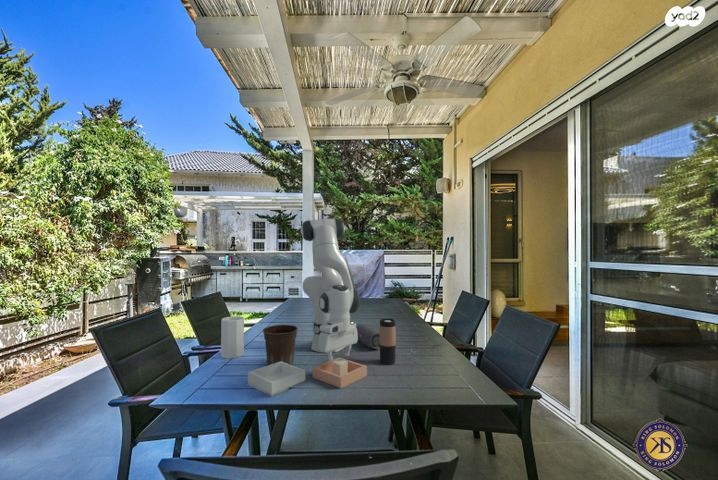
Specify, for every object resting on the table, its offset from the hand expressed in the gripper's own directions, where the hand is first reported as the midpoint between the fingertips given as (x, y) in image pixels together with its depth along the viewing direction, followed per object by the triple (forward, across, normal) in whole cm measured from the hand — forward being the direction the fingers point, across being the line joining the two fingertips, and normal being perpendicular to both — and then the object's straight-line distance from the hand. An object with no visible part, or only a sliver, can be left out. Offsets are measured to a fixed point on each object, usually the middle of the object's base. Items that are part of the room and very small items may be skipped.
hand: (339, 358), depth 134 cm
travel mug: (+8, -30, +3) cm, 31 cm away
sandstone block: (+8, -1, 0) cm, 8 cm away
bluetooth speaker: (+8, -45, -21) cm, 50 cm away
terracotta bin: (+9, -1, 0) cm, 9 cm away
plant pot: (+9, +4, -34) cm, 36 cm away
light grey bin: (+9, +19, -16) cm, 27 cm away
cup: (+9, +14, -61) cm, 64 cm away
